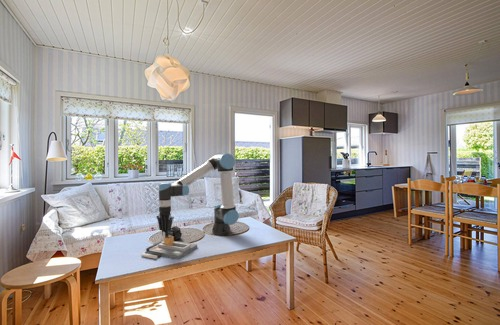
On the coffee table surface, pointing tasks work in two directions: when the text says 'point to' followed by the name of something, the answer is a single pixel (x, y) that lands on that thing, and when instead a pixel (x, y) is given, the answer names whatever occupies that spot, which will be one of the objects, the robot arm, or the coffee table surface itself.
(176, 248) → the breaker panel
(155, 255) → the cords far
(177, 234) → the camera
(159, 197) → the robot arm
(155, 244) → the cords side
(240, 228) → the coffee table surface
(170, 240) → the breaker lever
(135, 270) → the coffee table surface
